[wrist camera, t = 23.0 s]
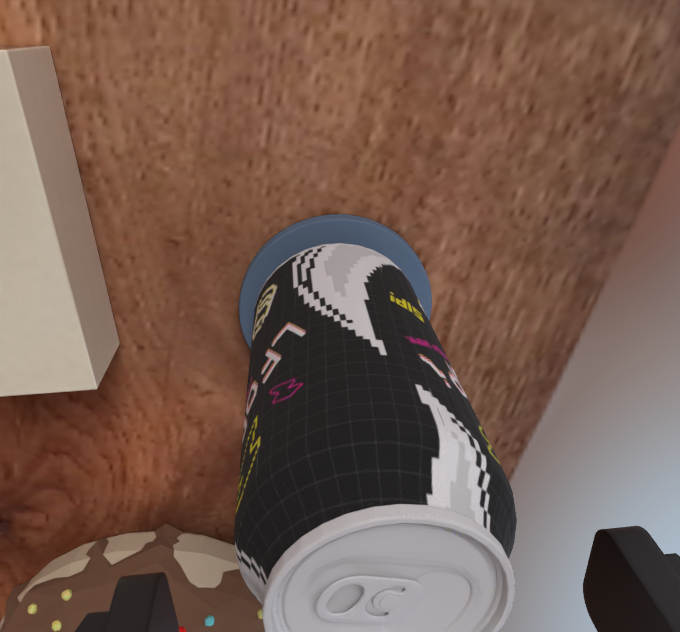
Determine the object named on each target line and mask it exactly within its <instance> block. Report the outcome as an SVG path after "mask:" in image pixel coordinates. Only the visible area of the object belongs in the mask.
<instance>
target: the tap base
mask: <svg viewBox="0 0 680 632" xmlns="http://www.w3.org/2000/svg"><path fill="white" fill-rule="evenodd" d="M119 344H120V343H119V339H118V334H117V330H116V326H115V322H114V317H113V313H112V309H111V305H110V301H109V296H108V292H107V288H106V284H105V279H104V275H103V271H102V267H101V262H100V258H99V254H98V250H97V245H96V241H95V237H94V233H93V229H92V224H91V220H90V216H89V212H88V207H87V203H86V199H85V195H84V190H83V186H82V182H81V178H80V174H79V169H78V165H77V161H76V157H75V152H74V148H73V144H72V140H71V135H70V131H69V127H68V123H67V119H66V114H65V110H64V106H63V102H62V97H61V93H60V89H59V85H58V80H57V76H56V72H55V68H54V64H53V59H52V55H51V51H50V47H49V46H47V45H45V46H17V47H0V397H3V396H16V395H30V394H43V393H56V392H69V391H83V390H95V389H97V388H98V386H99V384H100V382H101V380H102V378H103V376H104V374H105V372H106V370H107V368H108V366H109V364H110V362H111V360H112V358H113V356H114V354H115V352H116V350H117V348H118V346H119Z"/></svg>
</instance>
